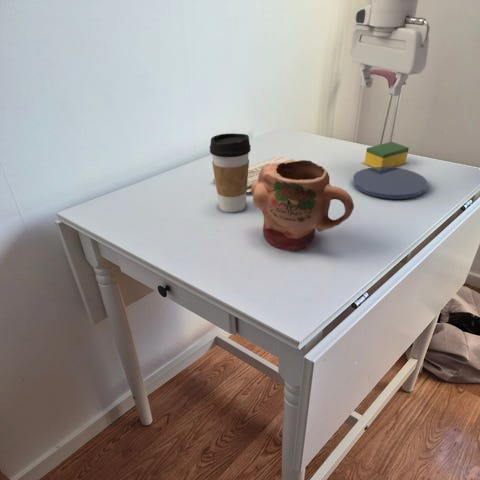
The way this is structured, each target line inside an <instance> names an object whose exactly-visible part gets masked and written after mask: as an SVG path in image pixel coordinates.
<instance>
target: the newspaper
mask: <svg viewBox="0 0 480 480" xmlns="http://www.w3.org/2000/svg"><path fill="white" fill-rule="evenodd" d="M288 161H298V160H297V159H294V158H290V157H284V156H276V157H273V158H270V159H267V160H265V161H261V162H258V163H256V164H253V165H249V168H248V180H247V191H246V193H250V192H251V187H252V185H253V184H254V183H255V182H256V181H258V177H259V173H260V171H261V170H262V168H264V167H266V166H268V165H270V164H272V163H282V162H288ZM212 181H213V183H214V184H216V182H215V178H213V179H212Z"/></svg>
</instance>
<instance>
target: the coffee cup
mask: <svg viewBox="0 0 480 480" xmlns="http://www.w3.org/2000/svg"><path fill="white" fill-rule="evenodd" d="M250 143H251V142H250V136H249V135H248V134H245V133H221V134H216V135H214V136H212V137H211V138H210V145H209V153H210V154H211V156H212V161H211V164H212V169H213V176H214V179H215V182H216V183H215V188H216V194H217V201H218V207H219V209H220V210H221V211H223V212H226V213H238V212H241V211H243V210H245V209H246V207H247V206H246V205H247V192H246V191H247V180H248V168H249V167H250V159H249V154H250V152H251V150H252V149H251V144H250Z"/></svg>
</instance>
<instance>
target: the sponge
mask: <svg viewBox="0 0 480 480" xmlns="http://www.w3.org/2000/svg"><path fill="white" fill-rule="evenodd" d="M409 149H410V148H409V147H408V146H405V145H402V144H399V143H397V142H394V141H389V142H385V143H381V144H377V145H374V146H370V147H367V148H366V151H365V158H364V162H363V163H364V164H365V165H368V166H369V167H371V168H372V167H397V166H400V165H404V164H406V163H407V158H408V153H409Z"/></svg>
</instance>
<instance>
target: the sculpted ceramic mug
mask: <svg viewBox="0 0 480 480" xmlns="http://www.w3.org/2000/svg"><path fill="white" fill-rule="evenodd" d="M330 178H331V177H330V175H329V173H328V171H327V169H326V168H325V167H323V166H322V165H320V164H317V163H315V162H313V161H311V160H307V159H301V160H297V161H288V162H282V163H272V164H270V165H268V166H266V167H264V168H262V170H261V171H260V173H259V177H258V181H256V182H255V183H254V184H253V185H252V187H251V191H250V192H251V194H252V202H253V204H254V206H255V207H256V208H257V209H258V210H260V211H261V213H262V216H263V226H262V235H263V237H264V239H265V241H266V242H267V244H268V245H270V246H272V247H274V248H277V249H280V250H284V251H291V252H292V251H299V250H303V249H304V248H306V247H308V246H309V245H310V244H311V243H312V242H313V240H314V238H315V234H316V231H317V232H320V233H321V232H324V231H326V230H330V229H333V228H335V227H337V226H339V225H341V223H343V222H345V221H346V220H348V219H349V218H350V217H351V216H352V214H353V211H354V208H355V205H354V204H355V203H354V201H353V198H352V196H351V195H350V194H349V192H348V191H346V190H345V189H343V188H341V187H339V186H333V185H331V183H330V181H331V179H330ZM333 200H337V201H339V202H341V203H342V204H343V206H344V207H343V208H344V214H343V215H342V216H340V217H338V218H336V219H332V218H330V217H329V210H330V206H331V202H332V201H333Z"/></svg>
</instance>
